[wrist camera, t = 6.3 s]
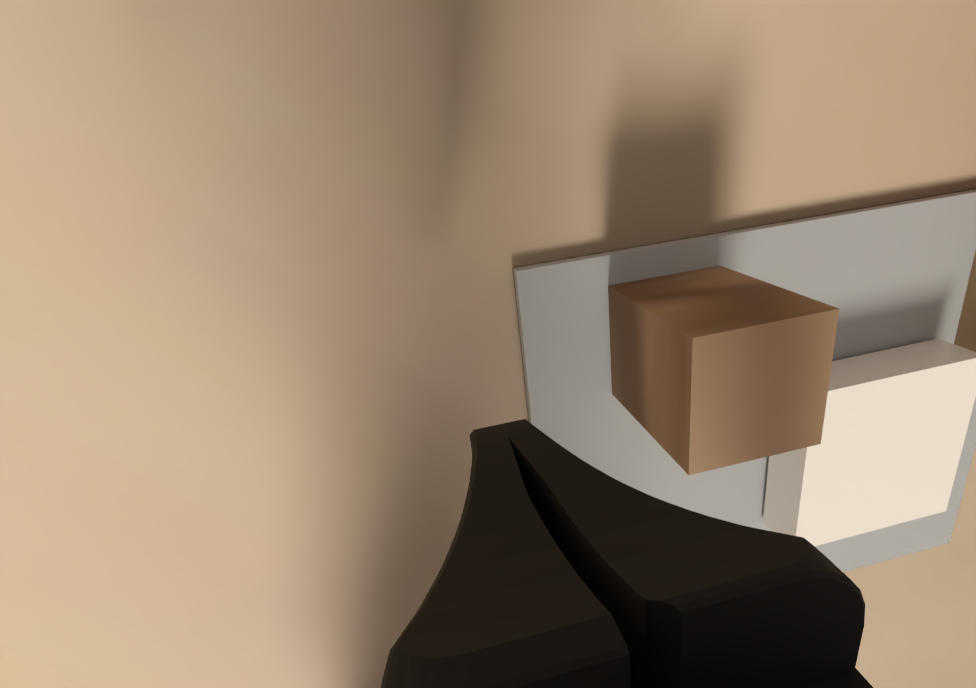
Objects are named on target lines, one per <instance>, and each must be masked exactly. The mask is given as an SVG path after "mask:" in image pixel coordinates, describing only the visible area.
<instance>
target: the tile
mask: <svg viewBox="0 0 976 688" xmlns="http://www.w3.org/2000/svg"><path fill="white" fill-rule="evenodd" d="M975 398H976V352H974V351H971V350H969V349H966V348H963V347H960V346H957V345H954V344H952V343H949V342H946V341H943V340H940V339H934V340H929V341H924V342H920V343H915V344H910V345H906V346H901V347H896V348H892V349H887V350H882V351H878V352H873V353H868V354H864V355H859V356H854V357H850V358H845V359H841V360H836V361H832V366H831V373H830V380H829V387H828V395H827V402H826V409H825V416H824V423H823V431H822V438H821V444H818V445H814V446H810V447H806V448H802V449H797V450H793V451H789V452H785V453H781V454H777V455H772V456H769V463H768V473H767V484H766V494H765V504H764V515H763V522H764V523H765V524H766V525H767V526H768V527H769V528H770V529H771V530H772V531H773V532H778V533H783V534H788V535H793V536H798V537H803V538H805V539H806V540H807V541H809V542H810V543H811V544H812V545H814V546H818V545H822V544H825V543H829V542H833V541H837V540H840V539H844V538H848V537H852V536H855V535H859V534H863V533H866V532H870V531H874V530H878V529H881V528H885V527H889V526H892V525H896V524H900V523H904V522H907V521H911V520H915V519H919V518H922V517H926V516H930V515H933V514H937V513H941V512H945V511H946V510H947V506H948V502H949V498H950V494H951V490H952V487H953V483H954V479H955V475H956V471H957V467H958V463H959V460H960V456H961V452H962V448H963V444H964V440H965V436H966V433H967V429H968V425H969V421H970V417H971V413H972V409H973V406H974V402H975Z"/></svg>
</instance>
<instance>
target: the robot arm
mask: <svg viewBox="0 0 976 688" xmlns="http://www.w3.org/2000/svg"><path fill="white" fill-rule="evenodd" d="M470 441H471V447H472V454H473V455H472V468H471V476H470V483H469V488H468V492H467V497H466V501H465V505H464V509H463V513H462V516H461V520H460V523H459V526H458V529H457V532H456V534H455V537H454V540H453V542H452V545H451V547H450V550H449V552H448V554H447V557H446V559H445V561H444V563H443V566H442V568H441V570H440V572H439V574H438V576H437V578H436V579H435V581H434V583H433V585H432V587H431V588H430V590H429V592H428V594H427V595H426V597H425V599H424V601H423V603H422V604H421V606H420V608H419V609H418V611H417V612H416V614H415V616H414V617H413V618H412V620H411V621H410V623H409V624H408V626H407V627H406V628H405V630H404V631H403V633H402V634H401V636H400V637H399V638H398V640H397V641H396V643H395V644H394V646H393V647H392V648H391V650H390V653H389V657H388V660H387V664H386V668H385V672H384V677H383V681H382V686H381V688H873V687H872V686H871V685H870V684H869V683H868V681H867V680H866V679H865V678H864V677H863V676H862V675H861V674H860V673H859V672H858V670H857V669H856V668H855V665H856V660H857V656H858V651H859V646H860V642H861V637H862V632H863V628H864V615H865V603H864V600H863V597H862V594H861V591H860V589H859V588H858V587H857V586H856V585H855V584H854V583H853V582H852V581H851V580H850V579H849V578H848V577H847V576H846V575H845V574H844V573H843V572H842V571H841V570H840V569H839V568H838V567H837V566H836V565H835V564H834V563H832V562H831V561H830V560H829V559H828V558H827V557H826V556H825V555H824V554H823V553H822V552H820V551H819V550H818V549H817V548H816V547H815V546H814V545H812V544H811V543H810V542H809V541H807V540H806V539H805V538H803V537H798V536H793V535H788V534H783V533H778V532H773V531H768V530H762V529H757V528H752V527H747V526H743V525H739V524H736V523H732V522H728V521H724V520H721V519H717V518H713V517H710V516H706V515H703V514H700V513H697V512H693V511H690V510H687V509H685V508H682V507H679V506H676V505H674V504H671V503H668V502H665V501H663V500H660V499H658V498H655V497H653V496H650V495H648V494H646V493H643V492H641V491H639V490H637V489H635V488H633V487H630V486H628V485H626V484H624V483H622V482H620V481H618V480H616V479H614V478H612V477H610V476H608V475H607V474H605V473H603V472H601V471H600V470H598V469H596V468H595V467H593V466H591V465H589V464H588V463H586V462H585V461H583V460H581V459H580V458H578V457H577V456H575V455H574V454H572V453H571V452H569V451H568V450H566V449H565V448H564V447H562V446H561V445H559V444H558V443H557V442H555V441H554V440H552V439H551V438H550V437H548V436H547V435H546V434H544V433H543V432H542V431H540V430H539V429H538V428H536V427H535V426H534V425H532V424H531V423H530V422H528V421H527V420H526V419H523V420H518V421H514V422H509V423H504V424H500V425H495V426H490V427H486V428H481V429H476V430H473V432H472V433H471V434H470Z"/></svg>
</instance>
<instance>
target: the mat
mask: <svg viewBox="0 0 976 688" xmlns="http://www.w3.org/2000/svg"><path fill="white" fill-rule="evenodd" d="M975 250H976V189H974V190H968V191H963V192H957V193H951V194H945V195H939V196H933V197H927V198H922V199H916V200H910V201H904V202H898V203H892V204H886V205H881V206H875V207H869V208H863V209H857V210H851V211H845V212H840V213H834V214H828V215H822V216H816V217H810V218H804V219H799V220H793V221H787V222H781V223H775V224H769V225H763V226H758V227H752V228H746V229H740V230H734V231H728V232H722V233H717V234H711V235H705V236H699V237H693V238H687V239H681V240H676V241H670V242H664V243H658V244H652V245H646V246H640V247H635V248H629V249H623V250H617V251H611V252H605V253H599V254H594V255H588V256H582V257H576V258H570V259H564V260H558V261H553V262H547V263H541V264H535V265H529V266H523V267H517V268H513V273H514V282H515V292H516V302H517V311H518V321H519V330H520V340H521V349H522V359H523V368H524V378H525V387H526V397H527V406H528V416H529V422H530V423H531V424H532V425H534V426H535V427H536V428H538V429H539V430H540V431H542V432H543V433H544V434H546V435H547V436H548V437H550V438H551V439H552V440H554V441H555V442H557V443H558V444H559V445H561V446H562V447H564V448H565V449H566V450H568V451H569V452H571V453H572V454H574V455H575V456H577V457H578V458H580V459H581V460H583V461H585V462H586V463H588V464H589V465H591V466H593V467H595V468H596V469H598V470H600V471H601V472H603V473H605V474H607V475H608V476H610V477H612V478H614V479H616V480H618V481H620V482H622V483H624V484H626V485H628V486H630V487H633V488H635V489H637V490H639V491H641V492H643V493H646V494H648V495H650V496H653V497H655V498H658V499H660V500H663V501H665V502H668V503H671V504H674V505H676V506H679V507H682V508H685V509H687V510H690V511H693V512H697V513H700V514H703V515H706V516H710V517H713V518H717V519H721V520H724V521H728V522H732V523H736V524H739V525H743V526H747V527H752V528H757V529H762V530H768V531H772V530H771V529H770V528H769V527H768V526H767V525H766V524H765V523H764V522H763V515H764V504H765V494H766V484H767V473H768V463H769V456H768V457H764V458H760V459H756V460H751V461H747V462H743V463H739V464H735V465H730V466H726V467H722V468H718V469H714V470H709V471H705V472H701V473H697V474H693V475H688V474H687V473H686V472H685V471H684V470H683V469H682V468H681V467H680V466H679V465H678V464H677V463H676V461H675V460H674V459H673V458H672V457H671V456H670V455H669V454H668V453H667V452H666V451H665V450H664V449H663V448H662V447H661V446H660V444H659V443H658V442H657V441H656V440H655V439H654V438H653V437H652V436H651V435H650V434H649V433H648V432H647V431H646V430H645V429H644V427H643V426H642V425H641V424H640V423H639V422H638V421H637V420H636V419H635V418H634V417H633V416H632V415H631V414H630V413H629V411H628V410H627V409H626V408H625V407H624V406H623V405H622V404H621V403H620V402H619V401H618V400H617V399H616V398H615V397H614V396H613V394H612V382H611V354H610V326H609V298H608V286H609V285H614V284H620V283H625V282H631V281H636V280H642V279H647V278H653V277H659V276H664V275H670V274H675V273H681V272H686V271H692V270H697V269H703V268H709V267H714V266H723V267H726V268H728V269H731V270H734V271H737V272H739V273H742V274H745V275H748V276H750V277H753V278H756V279H759V280H762V281H764V282H767V283H770V284H773V285H775V286H778V287H781V288H784V289H786V290H789V291H792V292H795V293H797V294H800V295H803V296H806V297H808V298H811V299H814V300H817V301H820V302H822V303H825V304H828V305H831V306H833V307H836V308H839V315H838V323H837V330H836V337H835V344H834V351H833V359H832V361H836V360H841V359H845V358H850V357H854V356H859V355H864V354H868V353H873V352H878V351H882V350H887V349H892V348H896V347H901V346H906V345H910V344H915V343H920V342H924V341H929V340H934V339H940V340H943V341H946V342H949V343H952V344H954V341H955V337H956V332H957V328H958V324H959V319H960V315H961V311H962V306H963V302H964V298H965V293H966V289H967V285H968V280H969V276H970V272H971V267H972V263H973V259H974V254H975ZM975 446H976V398H975V402H974V406H973V409H972V413H971V417H970V421H969V425H968V429H967V433H966V436H965V440H964V444H963V448H962V452H961V456H960V460H959V463H958V467H957V471H956V475H955V479H954V483H953V487H952V490H951V494H950V498H949V502H948V506H947V510H946V511H945V512H941V513H937V514H933V515H930V516H926V517H922V518H919V519H915V520H911V521H907V522H904V523H900V524H896V525H892V526H889V527H885V528H881V529H878V530H874V531H870V532H866V533H863V534H859V535H855V536H852V537H848V538H844V539H840V540H837V541H833V542H829V543H825V544H822V545H818V546H815V547H816V548H817V549H818V550H819V551H820V552H822V553H823V554H824V555H825V556H826V557H827V558H828V559H829V560H830V561H831V562H832V563H834V564H835V565H836V566H837V567H838V568H839V569H840V570H841V571H842V572H846V571H850V570H853V569H857V568H861V567H864V566H868V565H871V564H875V563H879V562H882V561H886V560H889V559H893V558H897V557H900V556H904V555H907V554H911V553H914V552H918V551H922V550H925V549H929V548H932V547H936V546H940V545H943V544H947V543H949V542H950V539H951V535H952V531H953V528H954V524H955V520H956V516H957V513H958V509H959V505H960V502H961V498H962V494H963V491H964V487H965V483H966V479H967V476H968V472H969V468H970V465H971V461H972V457H973V453H974V450H975Z"/></svg>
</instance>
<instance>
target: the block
mask: <svg viewBox="0 0 976 688" xmlns="http://www.w3.org/2000/svg"><path fill="white" fill-rule="evenodd" d="M608 298H609V326H610V354H611V382H612V394H613V396H614V397H615V398H616V399H617V400H618V401H619V402H620V403H621V404H622V405H623V406H624V407H625V408H626V409H627V410H628V411H629V413H630V414H631V415H632V416H633V417H634V418H635V419H636V420H637V421H638V422H639V423H640V424H641V425H642V426H643V427H644V429H645V430H646V431H647V432H648V433H649V434H650V435H651V436H652V437H653V438H654V439H655V440H656V441H657V442H658V443H659V444H660V446H661V447H662V448H663V449H664V450H665V451H666V452H667V453H668V454H669V455H670V456H671V457H672V458H673V459H674V460H675V461H676V463H677V464H678V465H679V466H680V467H681V468H682V469H683V470H684V471H685V472H686V473H687V474H688V475H693V474H697V473H701V472H705V471H709V470H714V469H718V468H722V467H726V466H730V465H735V464H739V463H743V462H747V461H751V460H756V459H760V458H764V457H768V456H772V455H777V454H781V453H785V452H789V451H793V450H797V449H802V448H806V447H810V446H814V445H818V444H821V438H822V431H823V423H824V416H825V409H826V402H827V395H828V387H829V380H830V373H831V366H832V359H833V351H834V344H835V337H836V330H837V323H838V315H839V308H836V307H833V306H831V305H828V304H825V303H822V302H820V301H817V300H814V299H811V298H808V297H806V296H803V295H800V294H797V293H795V292H792V291H789V290H786V289H784V288H781V287H778V286H775V285H773V284H770V283H767V282H764V281H762V280H759V279H756V278H753V277H750V276H748V275H745V274H742V273H739V272H737V271H734V270H731V269H728V268H726V267H723V266H714V267H709V268H703V269H697V270H692V271H686V272H681V273H675V274H670V275H664V276H659V277H653V278H647V279H642V280H636V281H631V282H625V283H620V284H614V285H609V286H608Z"/></svg>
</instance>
